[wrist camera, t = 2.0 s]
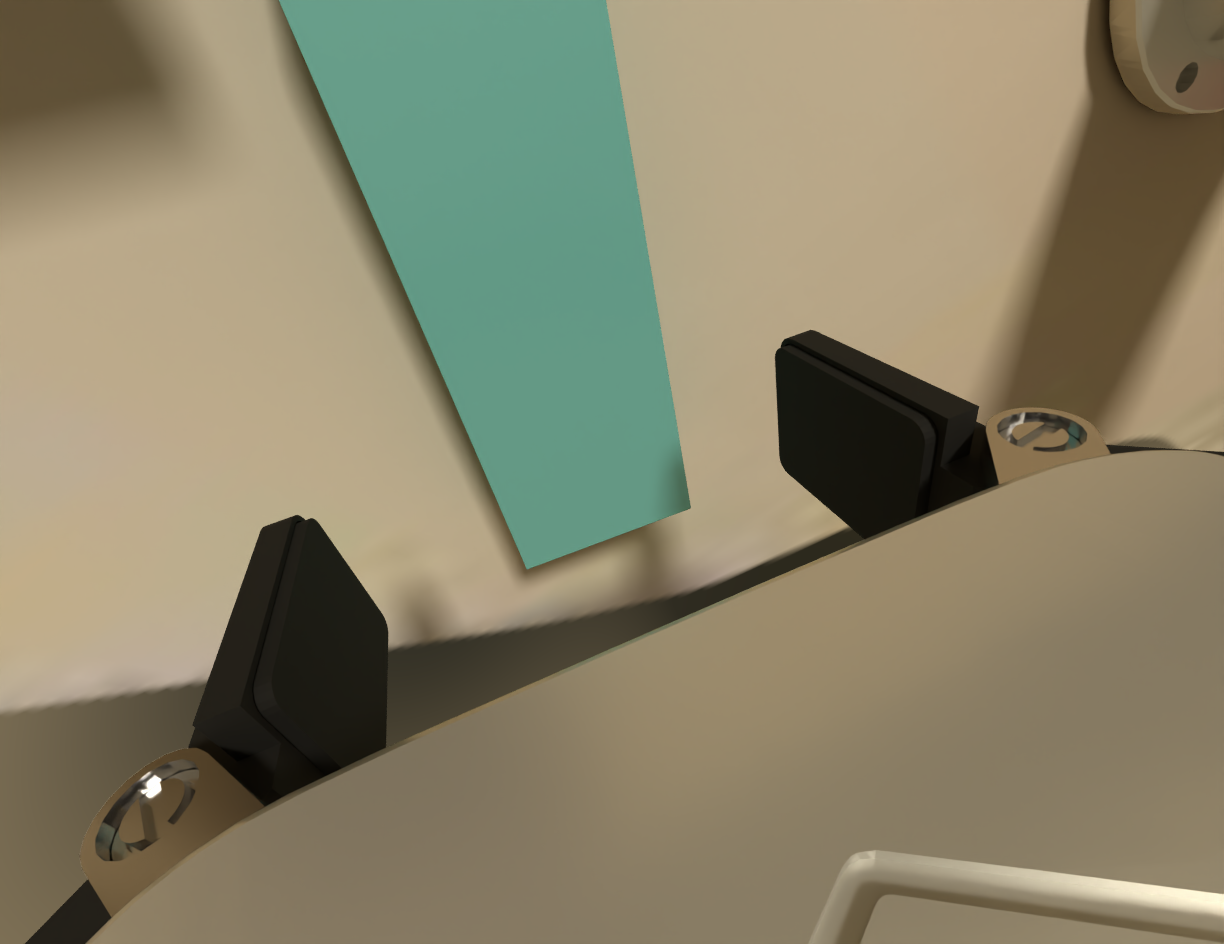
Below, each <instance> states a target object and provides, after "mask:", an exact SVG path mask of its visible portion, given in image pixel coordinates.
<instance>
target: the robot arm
mask: <svg viewBox="0 0 1224 944" xmlns="http://www.w3.org/2000/svg"><path fill="white" fill-rule="evenodd" d="M1109 25H1110V32H1111V39H1112V46H1113V53H1114V59H1115V61H1116V64H1117V66H1118V69H1119V71H1120V74H1121V77H1122V79H1123V82H1124V84H1125V85H1126V87H1127V88H1128V89H1129V90H1130V92H1131V93H1132V94H1133V95H1134V97H1135V98H1136V99H1137V100H1138V101H1139V102H1140V103H1142V104H1144V105H1146V106H1147V107H1149V108H1151V109H1153V110H1155V111H1156V112H1163V113H1171V114H1197V113H1215V112H1218V111H1221V110H1224V0H1110V9H1109ZM775 367H776V389H777V411H778V434H779V456H780V461H781V464H782V466H783V468H784V469H785V471H786V472H787V473H788V474H789V475H790V476H792V477H793V478H794V479H795V480H796V481H797V482H799V483H800V484H801V485H802V486H803V487H804V488H805V489H807V490H808V491H809V492H810V493H811V494H812V495H814V496H815V497H816V498H817V499H818V500H819V501H821V502H822V503H823V504H824V505H825V506H826V507H828V508H829V509H830V510H831V511H832V512H833V513H835V514H836V515H837V516H838V517H839V518H840V519H842V520H843V521H844V522H845V523H846V524H847V525H849V526H850V527H851V528H852V529H853V530H854V531H856V532H857V533H858V534H859V535H860V536H861V537H862V538H864V539H865V540H863V541H860V542H858V543H856V544H853V545H851V546H849V547H846V548H844V549H841V550H839V551H837V552H834V553H832V554H830V555H827V556H825V557H823V558H820V559H818V560H816V561H813V562H811V563H809V564H806V565H804V566H801V567H799V568H797V569H794V570H792V571H790V572H787V573H785V574H783V575H780V576H778V577H776V578H773V579H771V580H769V581H766V582H764V583H762V584H759V585H757V586H755V587H752V588H750V589H748V590H745V591H743V592H741V593H739V594H736V595H734V596H732V597H729V598H727V599H725V600H722V601H720V602H718V603H715V604H713V605H711V606H709V607H706V608H704V609H701V610H699V611H697V612H694V613H692V614H690V615H687V616H685V617H683V618H681V619H678V620H676V621H674V622H671V623H669V624H667V625H664V626H662V627H660V628H657V629H655V630H653V631H651V632H648V633H646V634H644V635H641V636H639V637H637V638H634V639H632V640H630V641H628V642H625V643H623V644H621V645H618V646H616V647H614V648H611V649H609V650H607V651H605V652H602V653H600V654H598V655H595V656H593V657H591V658H589V659H586V660H584V661H582V662H579V663H577V664H575V665H572V666H570V667H568V668H566V669H563V670H561V671H559V672H557V673H554V674H552V675H550V676H547V677H545V678H543V679H541V680H538V681H536V682H534V683H531V684H529V685H527V686H525V687H522V688H520V689H518V690H515V691H513V692H511V693H509V694H506V695H504V696H502V697H500V698H497V699H495V700H493V701H491V702H488V703H486V704H484V705H481V706H479V707H477V708H474V709H472V710H470V711H468V712H465V713H463V714H461V715H459V716H456V717H454V718H452V719H449V720H447V721H445V722H443V723H440V724H438V725H436V726H434V727H431V728H429V729H427V730H425V731H422V732H420V733H418V734H416V735H414V736H411V737H409V738H407V739H405V740H402V741H400V742H398V743H395V744H393V745H391V746H389V747H386V719H387V716H386V715H387V670H388V627H387V624H386V621H385V618H384V616H383V614H382V613H381V611H380V610H379V608H378V607H377V606H376V604H375V603H374V601H373V600H372V599H371V597H370V596H369V594H368V593H367V591H366V590H365V589H364V587H363V586H362V584H361V583H360V581H359V580H358V579H357V577H356V576H355V574H354V573H353V571H352V570H351V569H350V567H349V566H348V564H347V563H346V561H345V560H344V559H343V557H342V556H341V554H340V553H339V551H338V550H337V549H336V547H335V546H334V544H333V543H332V541H331V540H330V539H329V537H328V536H327V534H326V533H325V531H324V530H323V529H322V527H321V526H320V524H319V523H318V522H317V521H316V520H315V519H313V518H310V519H308V520H305V519H304V518H302V517H301V516H299V515H295V516H292V517H290V518H287V519H284V520H281V521H278V522H276V523H273V524H270V525H267V526H265V527H263V528H262V529H261V531H260V534H259V537H258V540H257V543H256V545H255V548H254V551H253V554H252V557H251V560H250V562H249V565H248V568H247V571H246V574H245V577H244V580H243V582H242V585H241V588H240V591H239V594H238V597H237V600H236V602H235V605H234V608H233V611H232V614H231V617H230V619H229V622H228V625H227V628H226V631H225V634H224V637H223V639H222V642H221V645H220V648H219V651H218V654H217V657H216V659H215V662H214V665H213V668H212V671H211V674H210V676H209V679H208V682H207V685H206V688H205V691H204V694H203V696H202V699H201V702H200V705H199V708H198V711H197V713H196V716H195V719H194V722H193V726H194V727H195V730H194V733H193V736H192V739H191V741H190V744H189V748H183V749H180V750H177V751H174V752H171V753H168V754H166V755H163V756H162V757H160V758H158V759H156V760H155V761H153V762H151V763H149V764H148V765H146V766H145V767H143V768H142V769H141V770H139V771H138V772H137V773H136V774H134V775H133V776H132V777H131V778H129V779H128V780H127V781H126V782H125V783H124V784H123V785H122V786H121V787H120V788H119V789H118V790H117V791H116V792H115V793H114V794H113V795H112V796H111V797H110V798H109V799H108V800H107V802H106V803H105V804H104V806H103V807H102V808H101V810H100V811H99V812H98V814H97V815H96V816H95V818H94V819H93V821H92V823H91V825H90V827H89V829H88V831H87V833H86V835H85V837H84V839H83V843H82V847H81V852H80V856H79V857H80V861H81V866H82V870H83V872H84V873H85V875H86V877H87V878H88V880H87V881H86V882H85V883H84V884H83V885H82V886H81V887H80V888H79V889H78V890H77V891H76V892H75V893H74V894H73V895H72V896H71V897H70V898H69V899H68V900H67V901H66V902H65V903H64V904H63V905H62V906H61V907H60V908H59V909H58V910H57V911H56V913H54V915H52V916H51V918H50V919H49V920H48V921H47V922H46V923H45V924H44V925H43V926H42V927H41V928H40V929H39V930H38V931H37V932H36V933H35V934H34V935H33V936H32V937H31V938H30V939H29V940H28V941H27V942H26V943H25V944H1224V452H1215V451H1199V450H1182V449H1165V448H1149V447H1132V446H1115V445H1106V444H1105V442H1104V440H1103V438H1102V436H1101V434H1100V432H1099V431H1098V430H1097V429H1096V428H1095V427H1094V425H1093V424H1091V423H1090V422H1088V421H1086V420H1085V419H1083V418H1081V417H1079V416H1076V415H1073V414H1071V413H1068V412H1065V411H1060V410H1055V409H1050V408H1037V407H1027V408H1015V409H1010V410H1006V411H1002V412H1000V413H998V414H996V415H994V416H992V417H991V418H990V419H989V421H988V422H987V423H986V426H984V425H982V424H980V423H978V422H976V419H977V414H978V409H979V406H977V405H975V404H972V403H970V402H968V401H966V400H964V399H962V398H959V397H957V396H955V395H953V394H951V393H949V392H946V391H944V390H942V389H940V388H938V387H936V386H933V385H931V384H929V383H927V382H925V381H923V380H920V379H918V378H916V377H914V376H912V375H910V374H907V373H905V372H903V371H901V370H899V369H897V368H894V367H892V366H890V365H888V364H886V363H884V362H881V361H879V360H877V359H875V358H873V357H871V356H868V355H866V354H864V353H862V352H860V351H858V350H855V349H853V348H851V347H849V346H847V345H845V344H843V343H840V342H838V341H836V340H834V339H832V338H830V337H827V336H825V335H823V334H821V333H819V332H817V331H814V330H809V331H806V332H803V333H800V334H798V335H795V336H792V337H789V338H787V339H784V341H783V342H782V344H781V348H779V349H778V350H777V351H776V354H775Z"/></svg>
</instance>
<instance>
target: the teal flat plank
mask: <svg viewBox="0 0 1224 944" xmlns="http://www.w3.org/2000/svg"><path fill="white" fill-rule="evenodd" d="M279 2H280V4H281V7H282V9H283V11H284V13H285V16H286V18H287V20H288V23H289V25H290V27H291V30H292V32H293V34H294V36H295V39H296V41H297V43H298V46H299V48H300V50H301V52H302V55H303V57H304V59H305V62H306V64H307V66H308V69H309V71H310V73H311V75H312V78H313V80H314V82H315V85H316V87H317V89H318V91H319V94H320V96H321V98H322V101H323V103H324V105H325V107H326V110H327V112H328V114H329V117H330V119H331V121H332V124H333V126H334V128H335V130H336V133H337V135H338V137H339V140H340V142H341V144H342V146H343V149H344V151H345V153H346V156H347V158H348V160H349V163H350V165H351V167H352V169H353V172H354V174H355V176H356V179H357V181H358V183H359V185H360V188H361V190H362V192H363V195H364V197H365V199H366V202H367V204H368V206H369V208H370V211H371V213H372V215H373V218H374V220H375V222H376V224H377V227H378V229H379V231H380V234H381V236H382V238H383V241H384V243H385V245H386V247H387V250H388V252H389V254H390V257H391V259H392V261H393V263H394V266H395V268H396V270H397V273H398V275H399V277H400V280H401V282H402V284H403V286H404V289H405V291H406V293H407V296H408V298H409V300H410V302H411V305H412V307H413V309H414V312H415V314H416V316H417V319H418V321H419V323H420V325H421V328H422V330H423V332H424V335H425V337H426V339H427V341H428V344H429V346H430V348H431V351H432V353H433V355H434V357H435V360H436V362H437V364H438V367H439V369H440V371H441V374H442V376H443V378H444V380H445V383H446V385H447V387H448V390H449V392H450V394H451V396H452V399H453V401H454V403H455V406H456V408H457V410H458V413H459V415H460V417H461V419H462V422H463V424H464V426H465V429H466V431H467V433H468V435H469V438H470V440H471V442H472V445H473V447H474V449H475V452H476V454H477V456H478V458H479V461H480V463H481V465H482V468H483V470H484V472H485V474H486V477H487V479H488V481H489V484H490V486H491V488H492V491H493V493H494V495H495V497H496V500H497V502H498V504H499V507H500V509H501V511H502V513H503V516H504V518H505V520H506V523H507V525H508V527H509V530H510V532H511V534H512V536H513V539H514V541H515V543H516V546H517V548H518V550H519V552H520V555H521V557H522V559H523V562H524V564H525V566H526V569H530V568H532V567H535V566H538V565H540V564H543V563H546V562H548V561H551V560H554V559H556V558H559V557H562V556H564V555H567V554H570V553H572V552H575V551H578V550H580V549H583V548H586V547H589V546H591V545H594V544H597V543H599V542H602V541H605V540H607V539H610V538H613V537H615V536H618V535H621V534H623V533H626V532H629V531H631V530H634V529H637V528H639V527H642V526H645V525H648V524H650V523H653V522H656V521H658V520H661V519H664V518H666V517H669V516H672V515H674V514H677V513H680V512H682V511H685V510H688V509H690V508H691V506H690V500H689V494H688V488H687V482H686V476H685V470H684V464H683V458H682V452H681V446H680V440H679V434H678V428H677V422H676V416H675V410H674V404H673V398H672V393H671V387H670V381H669V375H668V369H667V363H666V357H665V351H664V345H663V339H662V333H661V327H660V321H659V315H658V309H657V303H656V297H655V291H654V285H653V279H652V273H651V267H650V261H649V255H648V249H647V243H646V237H645V231H644V225H643V219H642V213H641V207H640V201H639V195H638V189H637V183H636V177H635V171H634V165H633V159H632V153H631V147H630V141H629V135H628V129H627V123H626V117H625V111H624V105H623V99H622V93H621V87H620V81H619V75H618V69H617V64H616V58H615V52H614V46H613V40H612V34H611V28H610V22H609V16H608V10H607V4H606V0H279Z"/></svg>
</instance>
